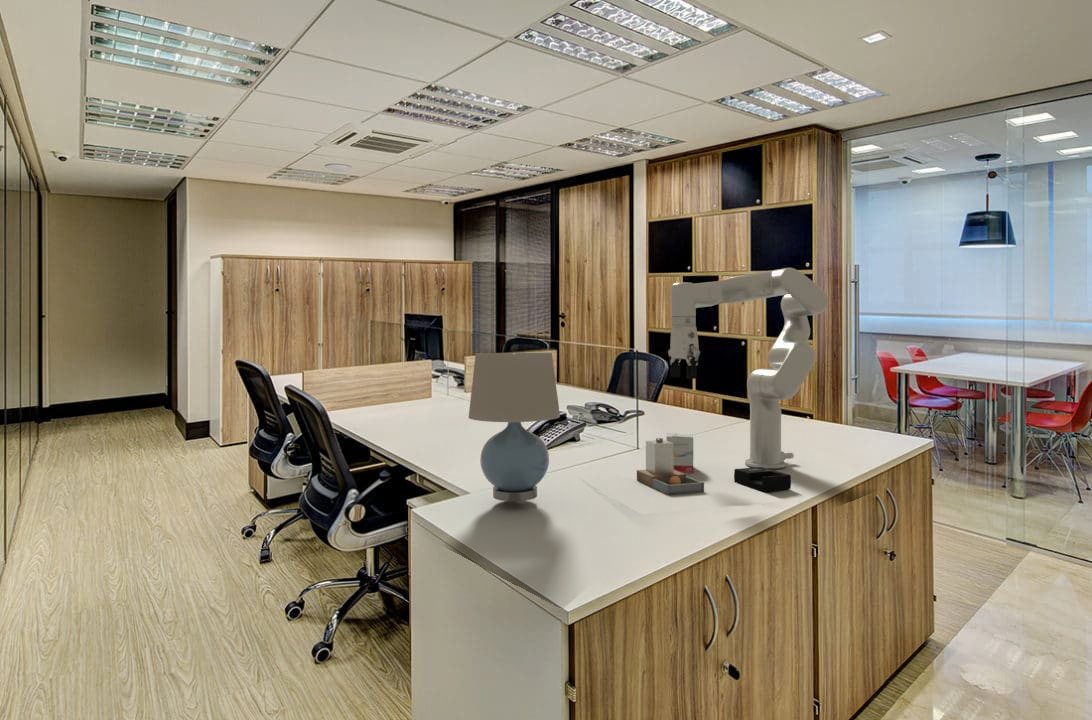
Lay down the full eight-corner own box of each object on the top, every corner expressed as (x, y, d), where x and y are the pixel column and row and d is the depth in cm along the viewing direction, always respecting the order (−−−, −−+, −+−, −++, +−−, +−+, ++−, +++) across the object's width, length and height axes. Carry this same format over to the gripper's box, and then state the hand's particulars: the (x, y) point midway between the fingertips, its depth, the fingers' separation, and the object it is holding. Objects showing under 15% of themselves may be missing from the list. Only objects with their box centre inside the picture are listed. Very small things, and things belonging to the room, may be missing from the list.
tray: (685, 484, 178) (685, 475, 178) (704, 491, 169) (704, 482, 169) (651, 487, 175) (651, 478, 175) (668, 495, 166) (668, 485, 166)
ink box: (693, 474, 192) (693, 436, 192) (666, 473, 194) (665, 436, 194) (692, 468, 201) (692, 432, 201) (666, 467, 203) (666, 432, 202)
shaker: (663, 468, 186) (663, 436, 186) (673, 472, 180) (673, 439, 180) (645, 470, 184) (645, 437, 184) (655, 474, 178) (654, 440, 178)
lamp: (527, 512, 149) (526, 353, 148) (450, 500, 162) (448, 353, 161) (577, 492, 170) (576, 352, 169) (504, 482, 183) (503, 352, 182)
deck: (669, 477, 187) (669, 467, 187) (686, 484, 178) (686, 474, 178) (636, 480, 184) (636, 470, 184) (651, 487, 175) (651, 476, 175)
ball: (676, 482, 175) (678, 473, 174) (681, 488, 172) (683, 478, 171) (667, 483, 174) (668, 474, 173) (672, 489, 171) (674, 479, 170)
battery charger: (733, 482, 182) (733, 468, 182) (759, 479, 185) (760, 466, 185) (763, 491, 170) (763, 477, 170) (791, 488, 173) (791, 474, 173)
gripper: (709, 321, 183) (709, 379, 183) (680, 323, 199) (680, 376, 200) (686, 321, 181) (687, 379, 181) (659, 323, 197) (659, 376, 198)
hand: (683, 377), depth 190 cm, fingers open, 9 cm apart
